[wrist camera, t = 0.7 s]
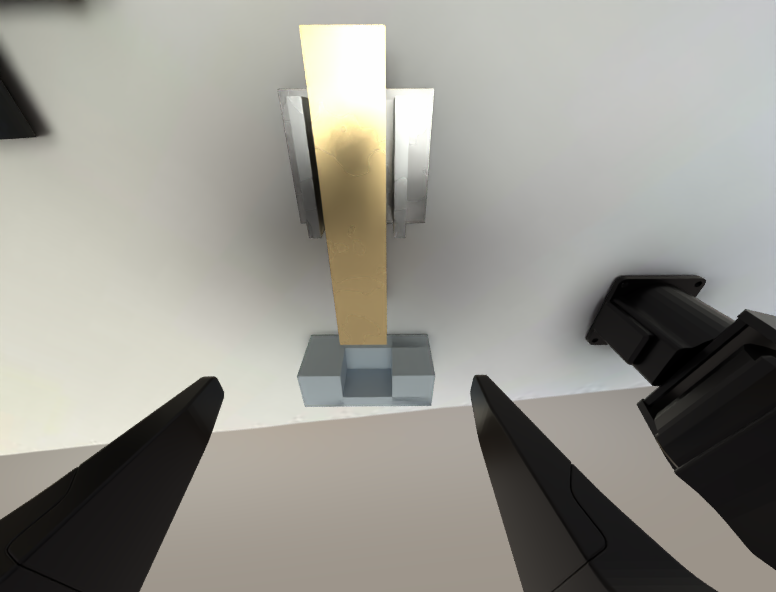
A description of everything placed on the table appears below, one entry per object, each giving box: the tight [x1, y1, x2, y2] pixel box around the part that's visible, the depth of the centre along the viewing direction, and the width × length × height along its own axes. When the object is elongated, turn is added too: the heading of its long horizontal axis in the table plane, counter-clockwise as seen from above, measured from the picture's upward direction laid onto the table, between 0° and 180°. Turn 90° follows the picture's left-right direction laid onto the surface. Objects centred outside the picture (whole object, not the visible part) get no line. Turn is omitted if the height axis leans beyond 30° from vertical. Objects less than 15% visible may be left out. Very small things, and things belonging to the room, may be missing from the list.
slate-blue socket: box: [297, 335, 435, 407], centre depth 23 cm, size 10×4×4 cm, turn 90°
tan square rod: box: [299, 25, 387, 345], centre depth 15 cm, size 3×15×3 cm, turn 0°
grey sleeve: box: [278, 89, 434, 238], centre depth 15 cm, size 8×7×4 cm
